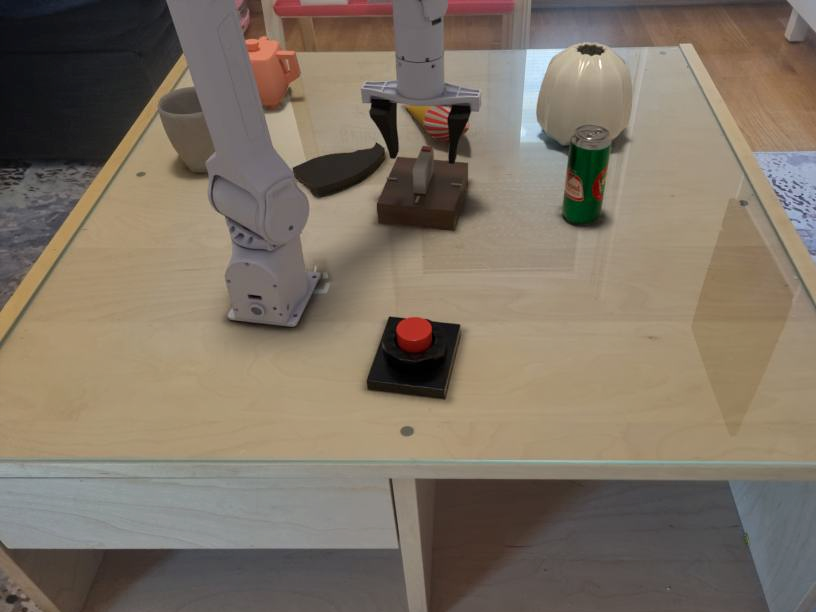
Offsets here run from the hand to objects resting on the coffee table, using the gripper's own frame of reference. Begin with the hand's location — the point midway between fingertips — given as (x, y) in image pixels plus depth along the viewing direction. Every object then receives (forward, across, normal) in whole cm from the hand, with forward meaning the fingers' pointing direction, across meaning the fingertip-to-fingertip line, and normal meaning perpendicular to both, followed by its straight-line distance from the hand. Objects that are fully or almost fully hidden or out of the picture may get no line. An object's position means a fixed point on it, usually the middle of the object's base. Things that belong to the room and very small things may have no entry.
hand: (423, 157), depth 97 cm
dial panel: (+7, 0, 0) cm, 7 cm away
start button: (+4, -5, +30) cm, 31 cm away
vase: (+7, -20, -22) cm, 31 cm away
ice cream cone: (+7, +2, -20) cm, 21 cm away
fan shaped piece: (+7, +13, -5) cm, 15 cm away
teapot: (+7, +33, -26) cm, 43 cm away
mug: (+7, +34, -6) cm, 35 cm away
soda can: (+7, -21, 0) cm, 22 cm away
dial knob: (+4, 0, 0) cm, 4 cm away
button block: (+7, -5, +30) cm, 31 cm away
